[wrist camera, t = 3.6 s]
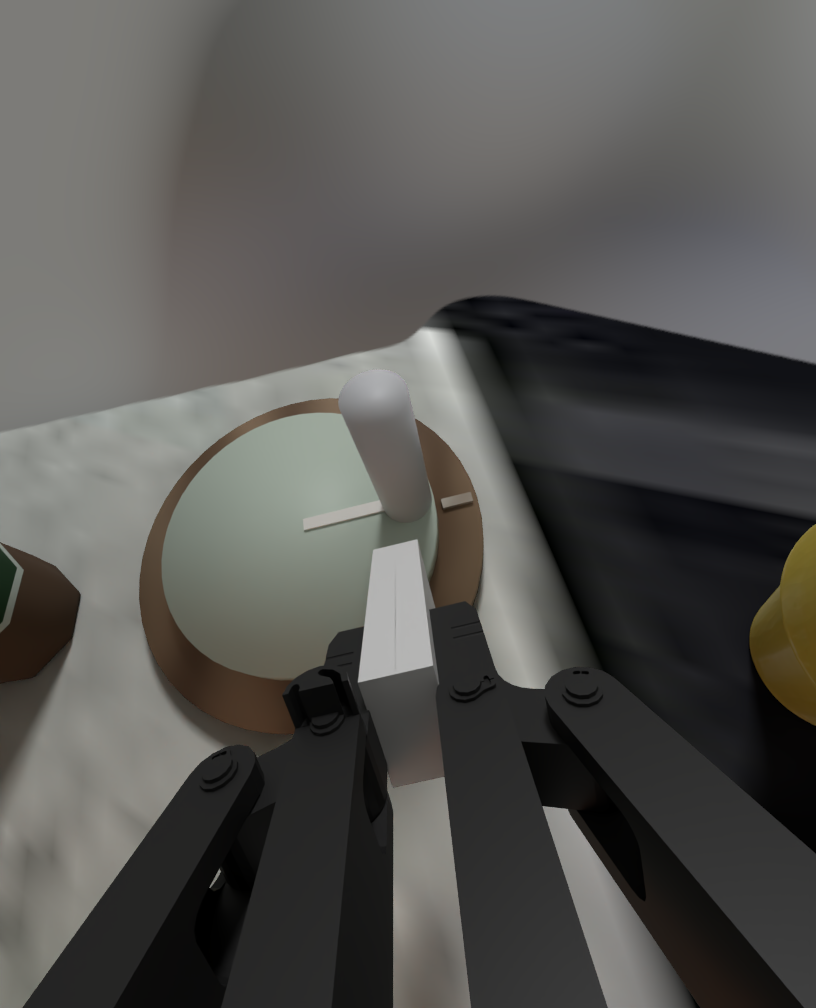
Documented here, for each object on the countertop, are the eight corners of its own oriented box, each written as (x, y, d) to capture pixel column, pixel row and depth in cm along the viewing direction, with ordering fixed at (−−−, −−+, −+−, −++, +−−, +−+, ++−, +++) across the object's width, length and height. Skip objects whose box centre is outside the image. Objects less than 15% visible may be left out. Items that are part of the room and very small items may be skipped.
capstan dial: (172, 711, 24) (-22, 696, 15) (181, 460, 32) (55, 345, 22) (470, 641, 24) (461, 581, 14) (409, 402, 31) (376, 259, 22)
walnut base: (140, 773, 25) (120, 775, 23) (160, 449, 34) (147, 438, 33) (531, 684, 24) (534, 681, 22) (438, 378, 33) (436, 363, 32)
